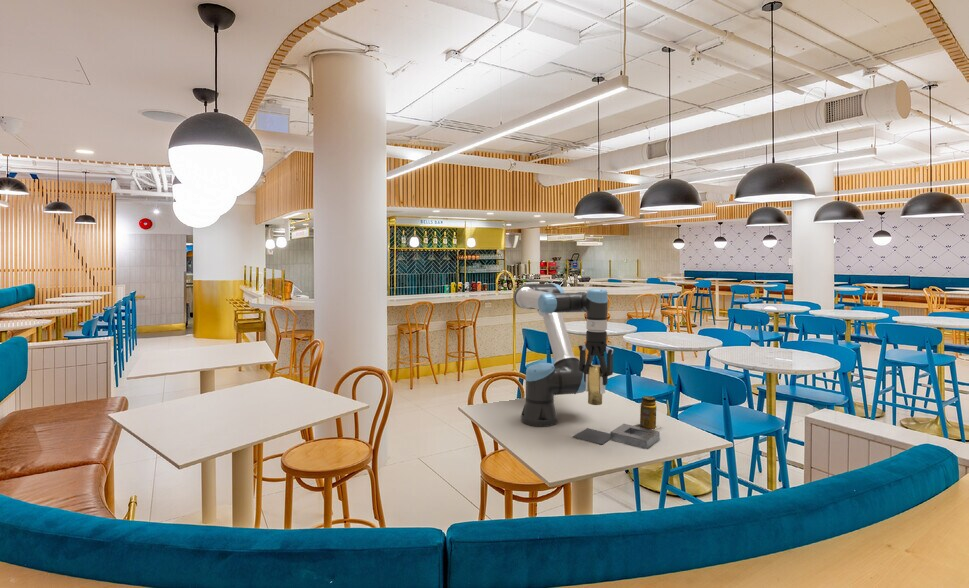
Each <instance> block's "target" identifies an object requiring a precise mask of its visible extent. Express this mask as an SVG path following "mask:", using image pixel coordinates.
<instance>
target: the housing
mask: <svg viewBox="0 0 969 588" xmlns="http://www.w3.org/2000/svg"><path fill="white" fill-rule="evenodd" d="M660 434H661V432H660V431H658V430H650V429H646V428H641V427H637V426H633V425H632V424H628V423H622V424H621V425H619V426H618V427H616V428H614V429H613V430H611V431H610V440H609V441H615V442H618V443H622V444H625V445H630V446H633V447H638V448H640V449H645V450H649V448H650V447H652V446H653V445H654V444H655V443H657V442H658V441H659V440H660Z"/></svg>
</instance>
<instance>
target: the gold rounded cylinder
mask: <svg viewBox="0 0 969 588" xmlns="http://www.w3.org/2000/svg"><path fill="white" fill-rule="evenodd" d="M601 376H602V372H601V367H600V364H591V365H589V376H588V392H587V404H588V405H591V406H601V405H602V404H603V394H600V377H601Z"/></svg>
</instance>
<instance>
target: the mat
mask: <svg viewBox="0 0 969 588" xmlns="http://www.w3.org/2000/svg"><path fill="white" fill-rule="evenodd" d="M571 438H573V439H577V440H581V441H584V442H589V443H593V444H596V445H600V446H602V445H604V444H606V443H608V442H610V441H611V440H610V433H609V432H606V431H601V430H597V429H593V428H589V427H587V428H585V429H583V430H581V431H580V432H578V433H576V434H574V435H572V436H571Z"/></svg>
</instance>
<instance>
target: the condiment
mask: <svg viewBox="0 0 969 588" xmlns="http://www.w3.org/2000/svg"><path fill="white" fill-rule="evenodd" d="M656 401H657V399H656V398H655V397H653V396H648V395H644V396H642V397H641V403H640V410H639V411H640V412H639V413H640V415H639V416H640V417H639V423H637V424H635V425H632V426H637V427H641V428H646V429H650V430H652V429H653V430H654V431H656V430H657V429H658V430H659V429H660V428H661V427H660V426H657V404H656ZM655 428H656V429H655Z"/></svg>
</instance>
